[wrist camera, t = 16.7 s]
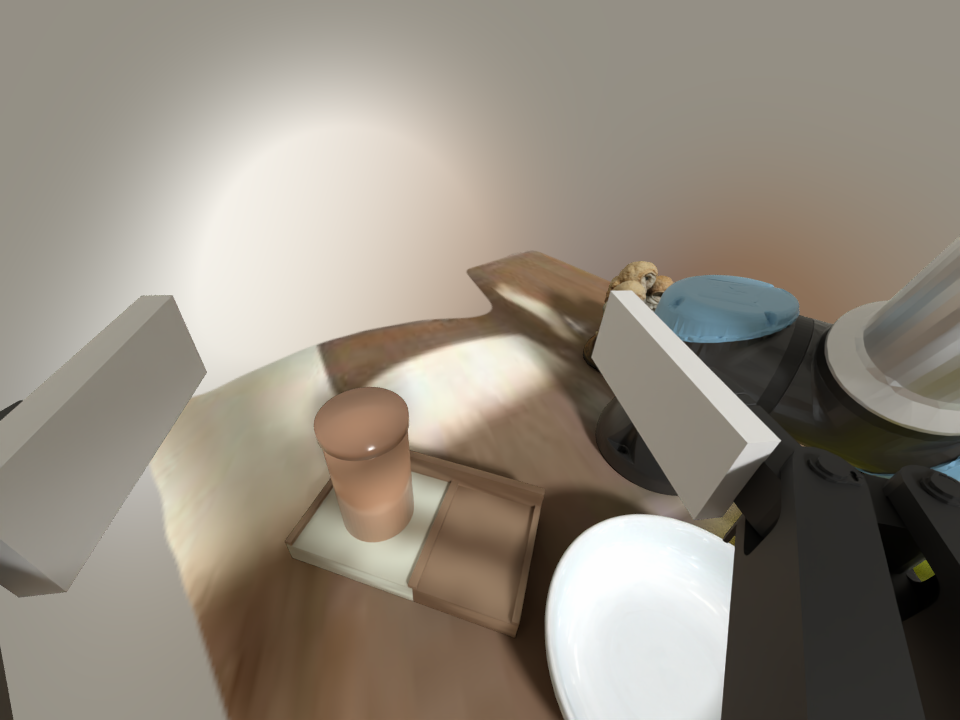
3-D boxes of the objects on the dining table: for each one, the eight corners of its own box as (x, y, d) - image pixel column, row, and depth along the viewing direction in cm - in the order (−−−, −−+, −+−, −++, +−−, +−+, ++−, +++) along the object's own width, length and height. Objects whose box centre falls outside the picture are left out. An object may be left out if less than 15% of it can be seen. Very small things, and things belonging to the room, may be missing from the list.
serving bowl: (498, 581, 37) (506, 543, 33) (679, 530, 43) (705, 492, 39) (619, 967, 22) (663, 986, 17) (881, 806, 27) (960, 792, 23)
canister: (366, 470, 43) (348, 379, 36) (428, 490, 42) (423, 399, 34) (324, 529, 38) (292, 436, 30) (394, 555, 36) (379, 464, 28)
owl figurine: (624, 393, 61) (660, 294, 51) (563, 358, 68) (585, 264, 58) (676, 352, 71) (715, 262, 61) (619, 324, 78) (645, 240, 68)
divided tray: (357, 462, 47) (352, 433, 44) (537, 516, 43) (545, 488, 40) (291, 557, 38) (279, 529, 35) (514, 637, 34) (522, 613, 31)
